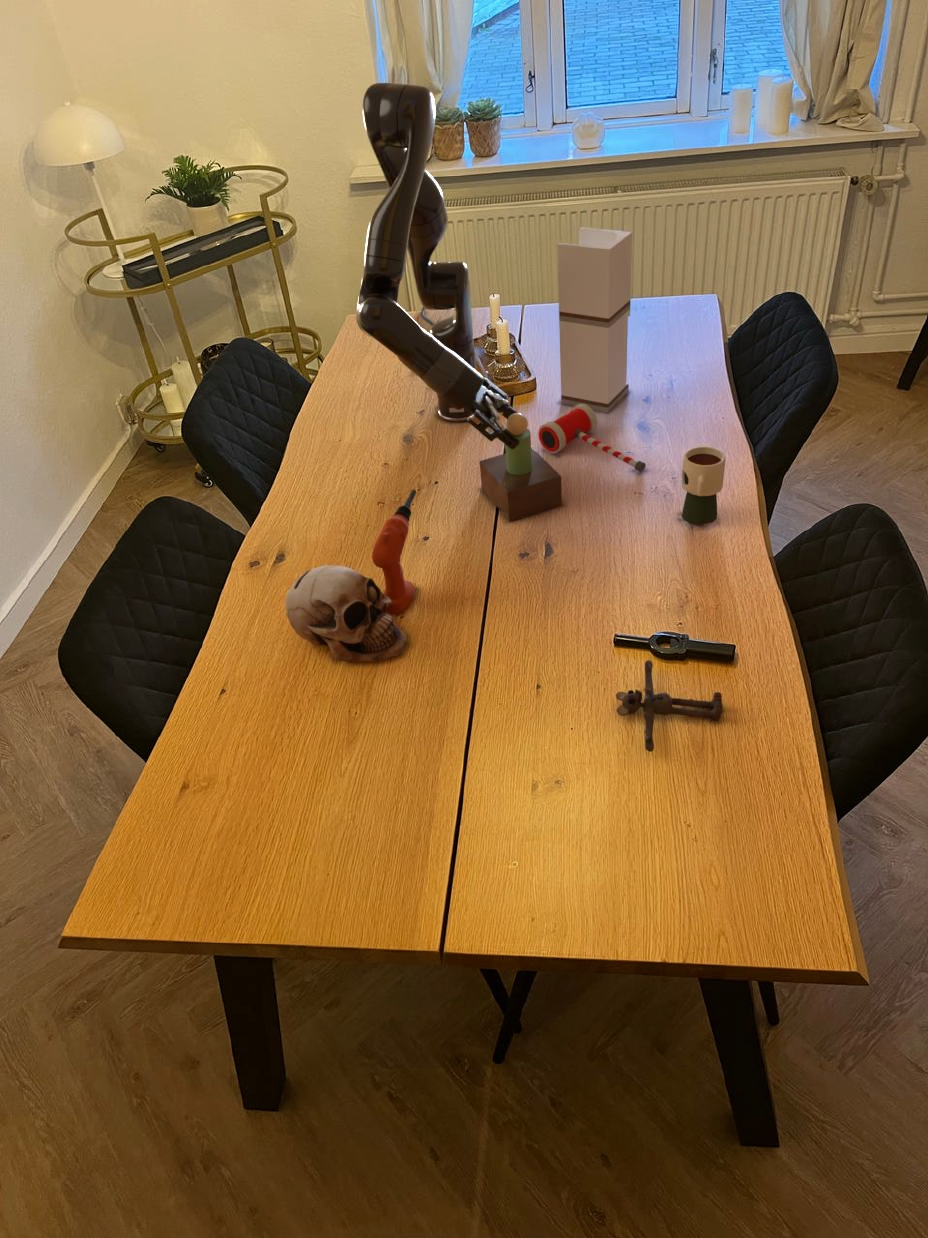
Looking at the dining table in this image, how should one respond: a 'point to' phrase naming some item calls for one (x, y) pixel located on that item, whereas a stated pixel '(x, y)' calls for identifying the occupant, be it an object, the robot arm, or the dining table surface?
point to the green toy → (519, 446)
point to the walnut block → (521, 487)
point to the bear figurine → (664, 705)
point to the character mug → (702, 483)
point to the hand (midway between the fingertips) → (518, 433)
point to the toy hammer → (578, 434)
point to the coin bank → (344, 614)
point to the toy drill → (395, 557)
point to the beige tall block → (594, 317)
